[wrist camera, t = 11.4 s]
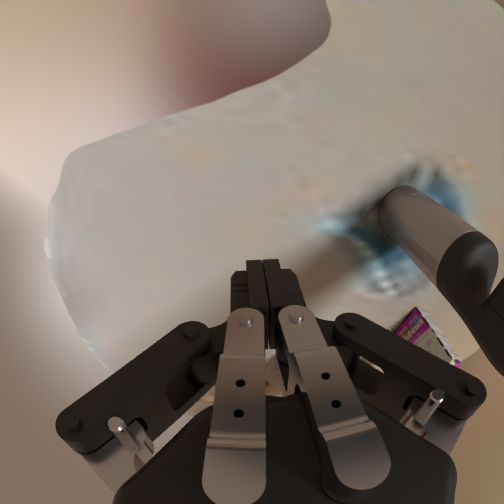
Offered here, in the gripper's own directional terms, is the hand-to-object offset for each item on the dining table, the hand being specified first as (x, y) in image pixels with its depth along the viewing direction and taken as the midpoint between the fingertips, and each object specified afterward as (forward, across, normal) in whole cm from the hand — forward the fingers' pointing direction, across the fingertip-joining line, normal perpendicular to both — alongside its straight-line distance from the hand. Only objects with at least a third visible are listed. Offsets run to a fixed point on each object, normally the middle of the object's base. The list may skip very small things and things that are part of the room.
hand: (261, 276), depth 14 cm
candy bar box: (+29, -35, +35) cm, 57 cm away
